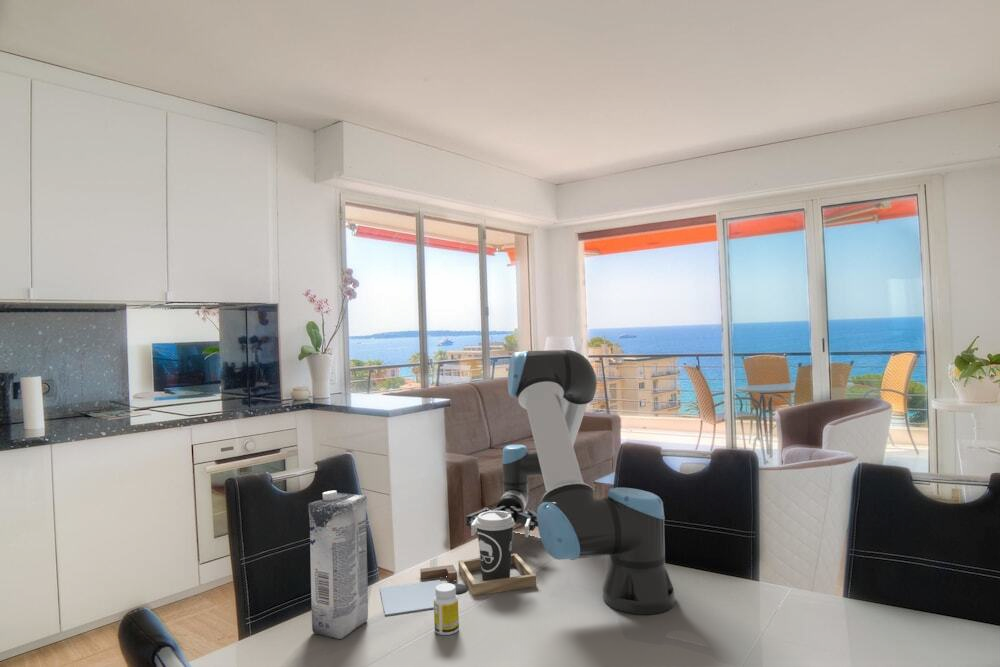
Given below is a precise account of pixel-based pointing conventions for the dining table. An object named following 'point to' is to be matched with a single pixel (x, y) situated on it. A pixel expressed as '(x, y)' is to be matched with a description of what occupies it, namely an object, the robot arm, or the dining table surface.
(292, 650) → the dining table surface
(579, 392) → the robot arm
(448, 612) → the supplement bottle
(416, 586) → the slate pad
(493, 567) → the coffee cup
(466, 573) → the wooden square frame
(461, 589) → the dark grey round disc
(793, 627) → the dining table surface
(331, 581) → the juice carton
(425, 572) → the walnut crook
